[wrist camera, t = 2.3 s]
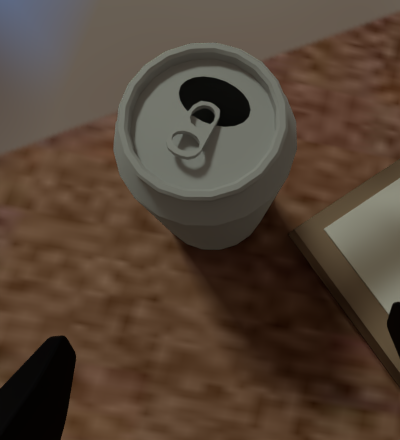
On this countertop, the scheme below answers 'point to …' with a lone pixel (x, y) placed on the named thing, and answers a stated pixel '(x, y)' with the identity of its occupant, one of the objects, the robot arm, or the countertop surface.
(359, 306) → the grey flat square slab
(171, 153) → the can
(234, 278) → the countertop surface
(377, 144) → the countertop surface
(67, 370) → the robot arm
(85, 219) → the countertop surface
